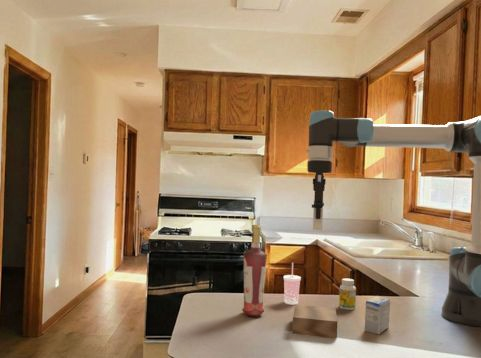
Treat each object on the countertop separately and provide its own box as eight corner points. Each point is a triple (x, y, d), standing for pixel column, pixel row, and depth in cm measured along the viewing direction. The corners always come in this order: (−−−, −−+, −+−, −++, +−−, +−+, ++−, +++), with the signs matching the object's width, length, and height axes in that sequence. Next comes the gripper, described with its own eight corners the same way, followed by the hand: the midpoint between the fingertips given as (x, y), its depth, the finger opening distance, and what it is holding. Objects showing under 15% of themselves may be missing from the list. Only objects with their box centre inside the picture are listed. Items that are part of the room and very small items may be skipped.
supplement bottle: (358, 309, 137) (359, 280, 137) (346, 310, 135) (347, 282, 135) (348, 304, 142) (349, 277, 142) (335, 306, 140) (336, 278, 140)
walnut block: (334, 324, 122) (335, 308, 122) (336, 340, 110) (337, 321, 110) (294, 320, 124) (295, 304, 124) (292, 335, 112) (293, 317, 112)
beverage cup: (299, 305, 138) (301, 264, 139) (281, 304, 140) (283, 263, 140) (300, 301, 144) (302, 261, 145) (283, 299, 146) (284, 260, 146)
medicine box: (374, 324, 123) (375, 295, 123) (389, 327, 120) (390, 298, 120) (364, 330, 117) (365, 300, 117) (379, 334, 114) (380, 304, 114)
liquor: (266, 318, 124) (270, 226, 125) (243, 318, 123) (247, 226, 123) (261, 310, 131) (265, 224, 132) (239, 311, 130) (243, 223, 131)
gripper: (308, 162, 141) (306, 223, 141) (307, 157, 116) (304, 231, 116) (330, 162, 140) (328, 224, 139) (333, 157, 115) (331, 232, 115)
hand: (317, 227), depth 128 cm, fingers open, 13 cm apart
